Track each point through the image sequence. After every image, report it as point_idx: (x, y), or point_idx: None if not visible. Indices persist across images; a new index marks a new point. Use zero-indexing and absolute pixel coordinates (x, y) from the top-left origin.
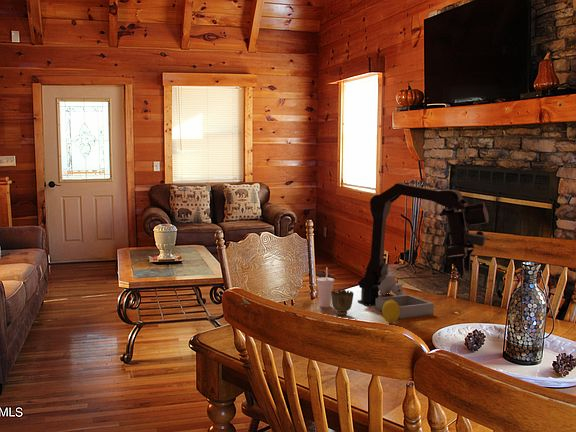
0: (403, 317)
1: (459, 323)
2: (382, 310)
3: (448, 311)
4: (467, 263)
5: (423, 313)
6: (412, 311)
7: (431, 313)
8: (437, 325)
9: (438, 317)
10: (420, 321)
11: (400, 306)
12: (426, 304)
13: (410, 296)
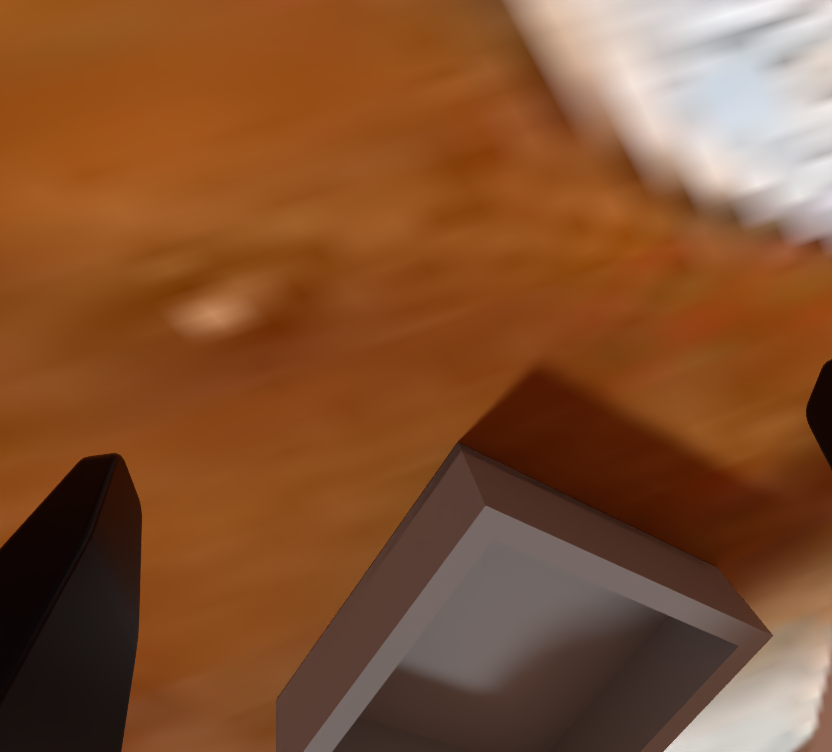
0: (699, 564)
1: (631, 146)
2: None
3: (235, 384)
4: (63, 664)
5: (553, 499)
6: (658, 560)
7: (480, 458)
8: (777, 293)
9: (516, 377)
10: (711, 441)
11: (742, 647)
12: (560, 537)
13: (336, 745)
